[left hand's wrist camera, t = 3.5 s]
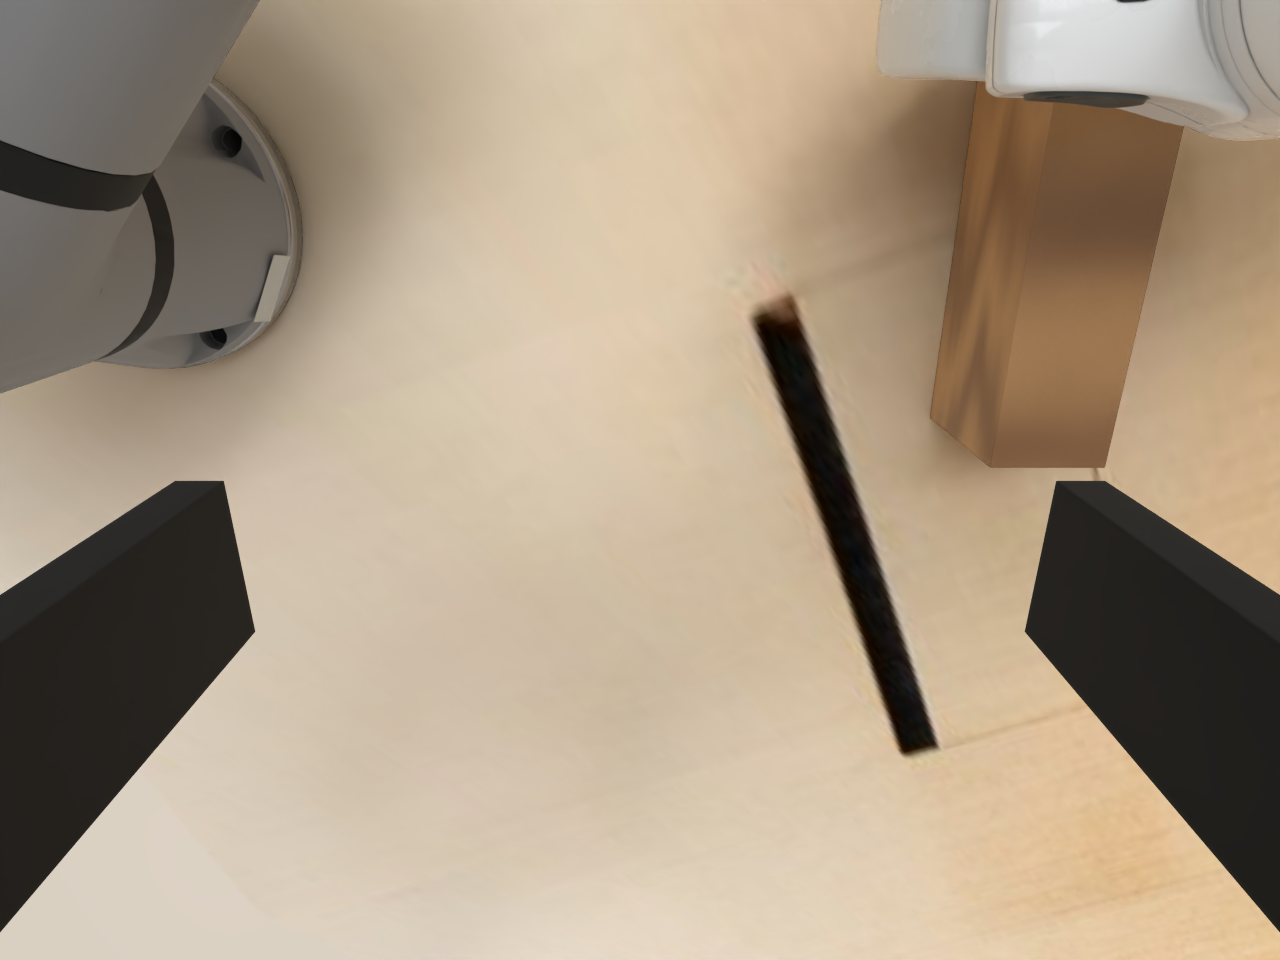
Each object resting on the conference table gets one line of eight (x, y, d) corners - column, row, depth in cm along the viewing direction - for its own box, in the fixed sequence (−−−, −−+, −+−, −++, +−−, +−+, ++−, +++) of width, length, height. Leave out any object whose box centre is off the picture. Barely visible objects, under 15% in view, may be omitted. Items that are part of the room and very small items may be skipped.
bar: (1025, 418, 44) (1105, 467, 36) (929, 418, 44) (989, 467, 36) (1111, -42, 36) (1237, -101, 28) (994, -42, 36) (1089, -101, 28)
